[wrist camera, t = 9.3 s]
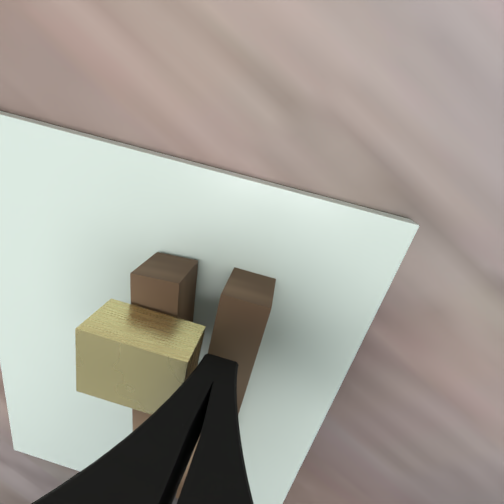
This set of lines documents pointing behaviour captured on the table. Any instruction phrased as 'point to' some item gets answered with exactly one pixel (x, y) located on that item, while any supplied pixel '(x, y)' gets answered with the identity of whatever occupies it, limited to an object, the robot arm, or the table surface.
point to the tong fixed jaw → (240, 328)
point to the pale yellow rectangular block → (135, 355)
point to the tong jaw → (164, 293)
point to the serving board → (207, 286)
